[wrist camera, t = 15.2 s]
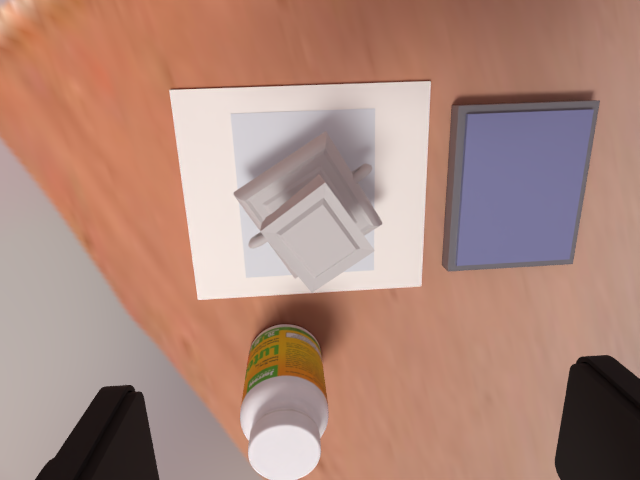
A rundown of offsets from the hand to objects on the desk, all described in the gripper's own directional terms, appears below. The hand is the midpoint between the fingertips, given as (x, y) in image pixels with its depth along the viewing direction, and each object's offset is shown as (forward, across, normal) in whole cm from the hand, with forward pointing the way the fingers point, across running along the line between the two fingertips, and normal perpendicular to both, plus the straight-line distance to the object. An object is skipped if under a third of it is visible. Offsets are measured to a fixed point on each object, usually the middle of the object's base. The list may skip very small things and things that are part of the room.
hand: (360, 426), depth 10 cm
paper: (+21, +1, -1) cm, 21 cm away
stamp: (+21, 0, -1) cm, 21 cm away
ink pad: (+21, -13, -1) cm, 25 cm away
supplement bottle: (+21, +3, +11) cm, 24 cm away
